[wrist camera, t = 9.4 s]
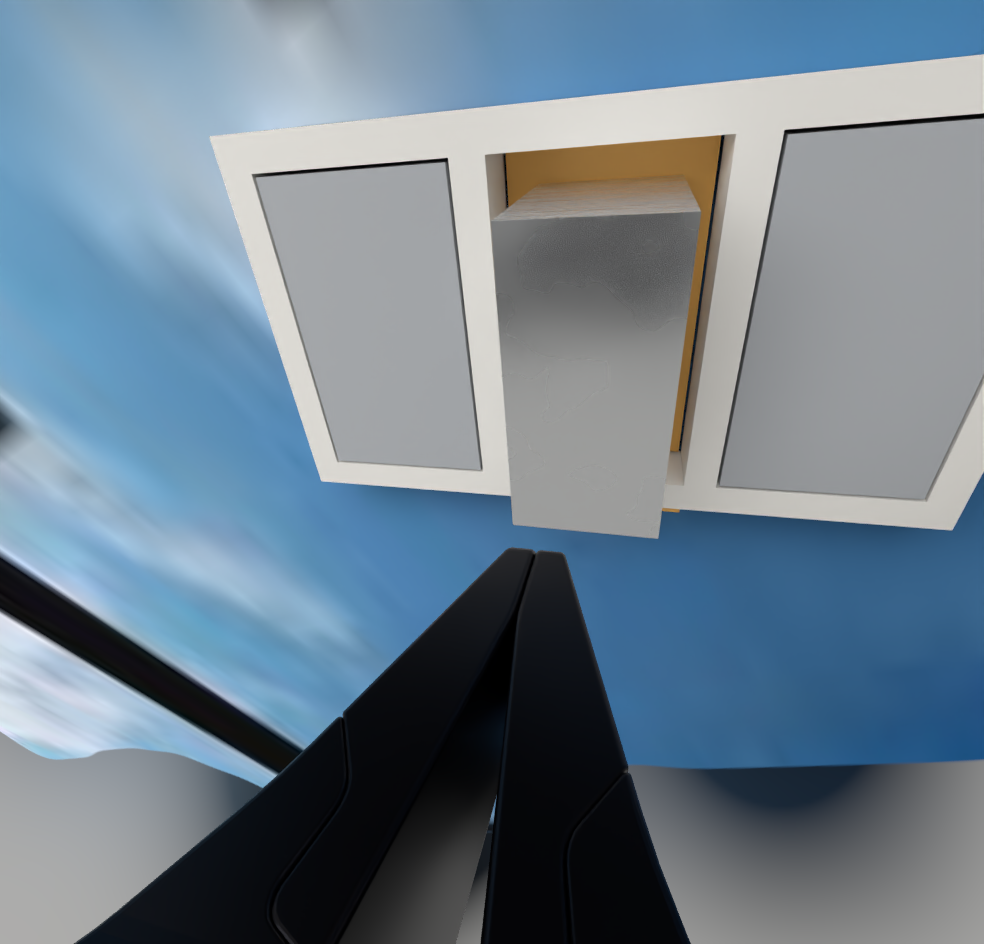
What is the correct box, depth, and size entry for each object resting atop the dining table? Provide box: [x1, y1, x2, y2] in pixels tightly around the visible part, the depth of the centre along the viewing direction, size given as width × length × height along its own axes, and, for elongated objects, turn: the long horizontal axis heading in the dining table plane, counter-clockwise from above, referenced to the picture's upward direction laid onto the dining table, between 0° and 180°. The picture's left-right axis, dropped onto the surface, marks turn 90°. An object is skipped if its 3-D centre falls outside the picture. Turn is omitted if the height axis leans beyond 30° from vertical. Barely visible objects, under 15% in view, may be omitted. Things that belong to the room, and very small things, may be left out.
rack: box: [209, 54, 984, 530], centre depth 17 cm, size 22×12×2 cm, turn 95°
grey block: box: [491, 175, 701, 539], centre depth 15 cm, size 4×8×6 cm, turn 4°
